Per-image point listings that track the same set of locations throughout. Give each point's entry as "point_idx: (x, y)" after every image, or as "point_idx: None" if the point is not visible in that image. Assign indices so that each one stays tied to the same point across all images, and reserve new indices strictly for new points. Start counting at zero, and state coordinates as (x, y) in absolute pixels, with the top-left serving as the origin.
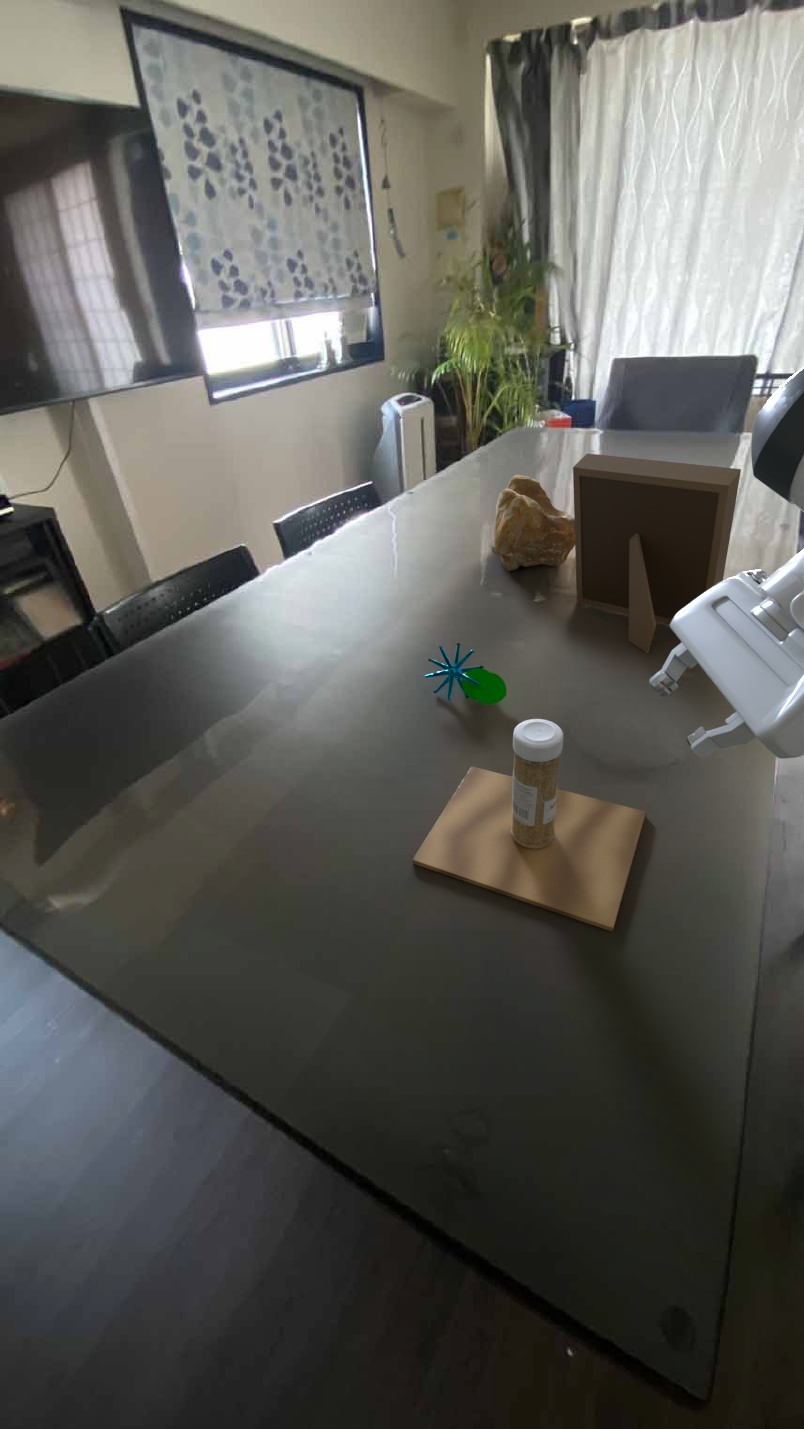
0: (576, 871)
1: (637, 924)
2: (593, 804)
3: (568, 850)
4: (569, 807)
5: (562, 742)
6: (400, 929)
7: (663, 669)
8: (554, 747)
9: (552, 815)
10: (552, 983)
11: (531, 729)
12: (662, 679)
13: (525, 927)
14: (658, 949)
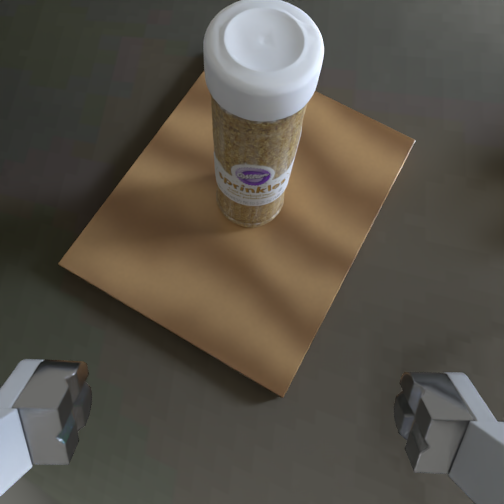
0: (166, 242)
1: (66, 305)
2: (309, 309)
3: (210, 242)
4: (305, 268)
5: (236, 98)
6: (123, 32)
7: (487, 421)
8: (209, 69)
9: (224, 190)
10: (8, 174)
11: (276, 29)
12: (428, 400)
13: (95, 162)
14: (19, 319)
